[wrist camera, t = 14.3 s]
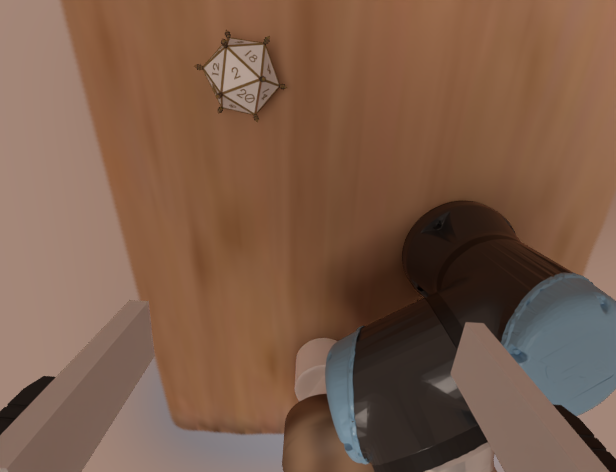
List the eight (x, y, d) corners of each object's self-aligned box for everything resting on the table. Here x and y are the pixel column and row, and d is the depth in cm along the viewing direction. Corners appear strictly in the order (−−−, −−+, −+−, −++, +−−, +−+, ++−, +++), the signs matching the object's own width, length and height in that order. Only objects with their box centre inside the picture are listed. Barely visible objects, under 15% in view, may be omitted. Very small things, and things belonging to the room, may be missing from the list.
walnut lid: (375, 396, 41) (384, 433, 36) (362, 457, 45) (369, 497, 40) (287, 390, 40) (285, 427, 36) (282, 452, 44) (279, 492, 39)
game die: (268, 79, 42) (315, 84, 35) (226, 129, 41) (266, 143, 34) (219, 12, 36) (265, 2, 29) (169, 69, 35) (203, 73, 28)
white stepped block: (313, 329, 51) (315, 389, 40) (360, 352, 53) (375, 416, 42) (286, 368, 54) (280, 434, 43) (331, 388, 56) (338, 458, 45)
